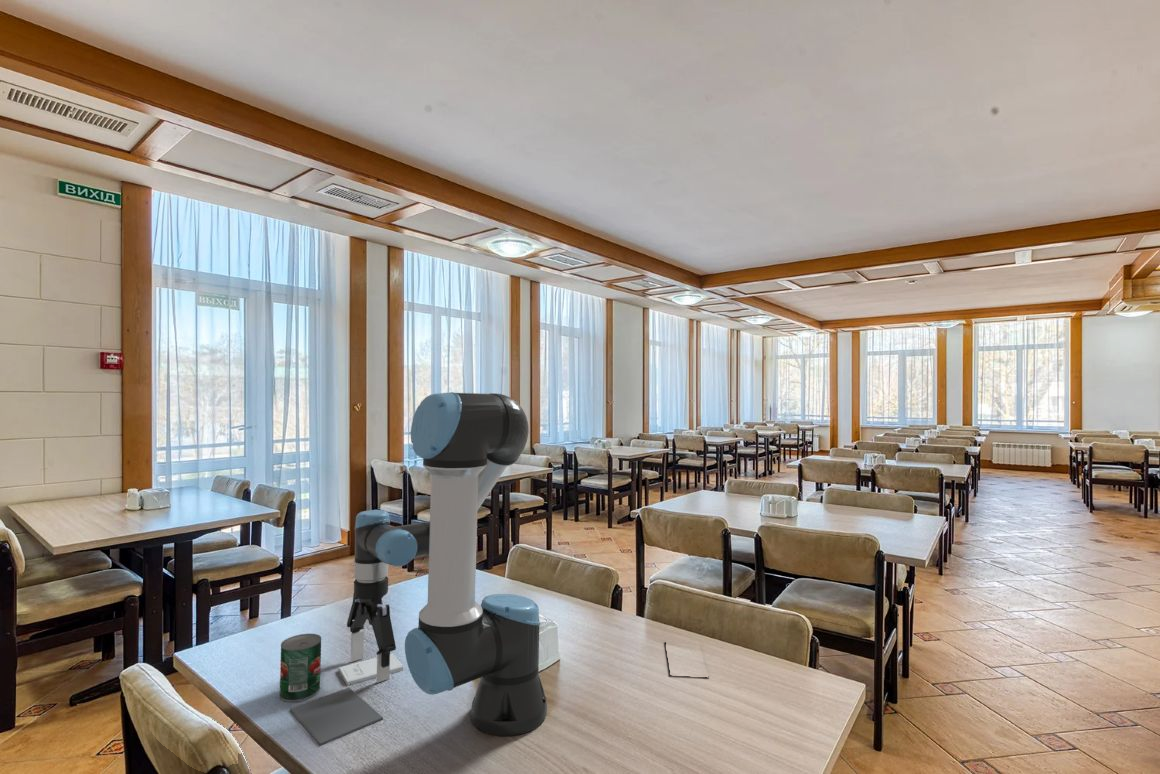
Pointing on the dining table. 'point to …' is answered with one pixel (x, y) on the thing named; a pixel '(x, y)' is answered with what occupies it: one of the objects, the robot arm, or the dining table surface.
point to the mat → (335, 715)
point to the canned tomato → (300, 667)
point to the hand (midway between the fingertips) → (369, 669)
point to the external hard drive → (366, 670)
